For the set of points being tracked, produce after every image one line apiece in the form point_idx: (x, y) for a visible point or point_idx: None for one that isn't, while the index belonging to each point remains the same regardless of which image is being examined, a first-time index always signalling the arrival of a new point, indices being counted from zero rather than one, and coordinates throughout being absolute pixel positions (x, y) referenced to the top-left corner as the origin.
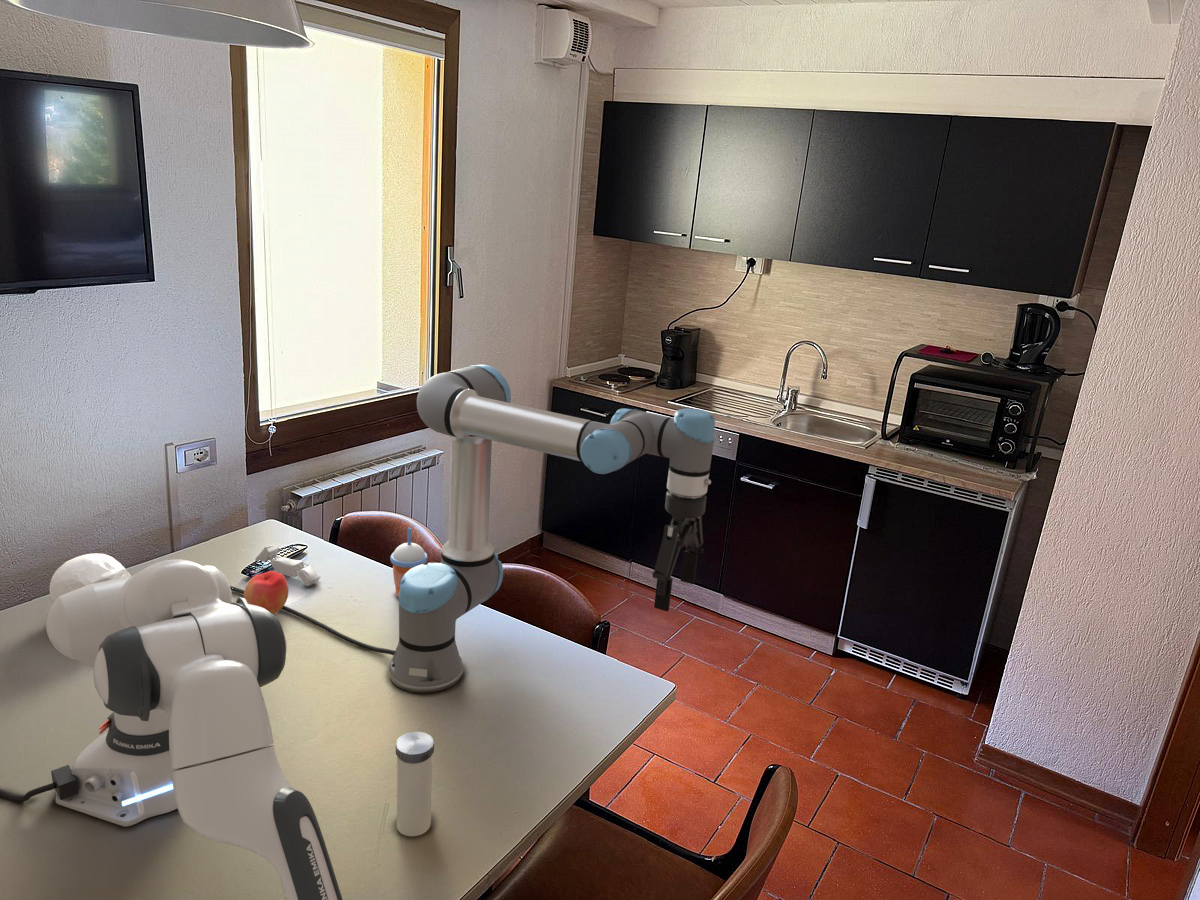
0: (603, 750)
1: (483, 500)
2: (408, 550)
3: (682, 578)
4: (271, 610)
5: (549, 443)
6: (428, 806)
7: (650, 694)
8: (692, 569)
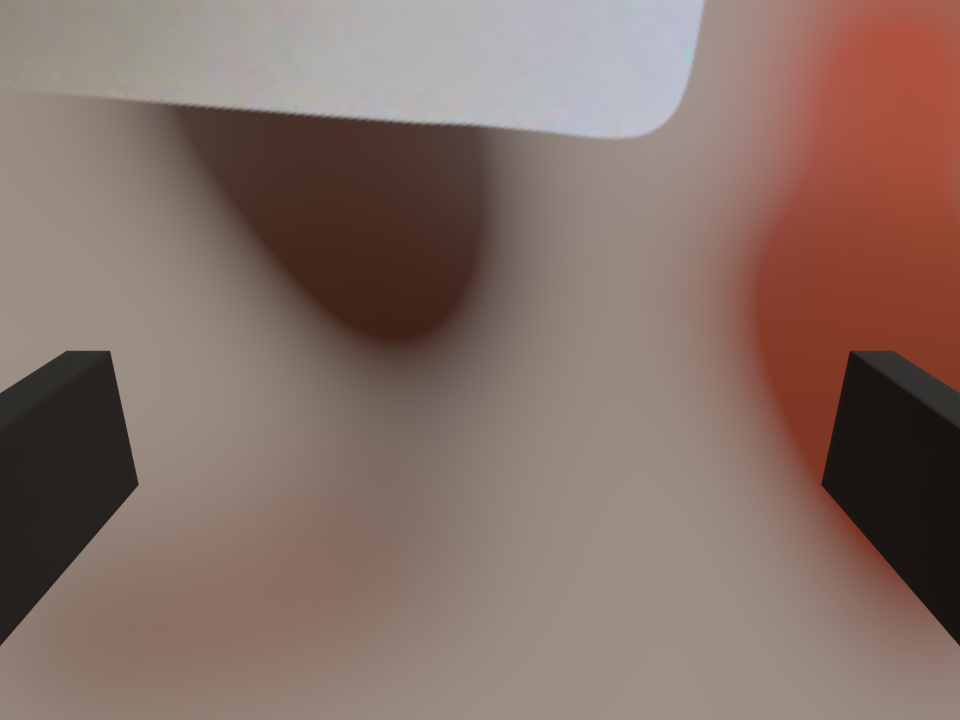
0: (192, 90)
1: None
2: None
3: (864, 386)
4: None
5: None
6: None
7: (611, 94)
8: (928, 575)
